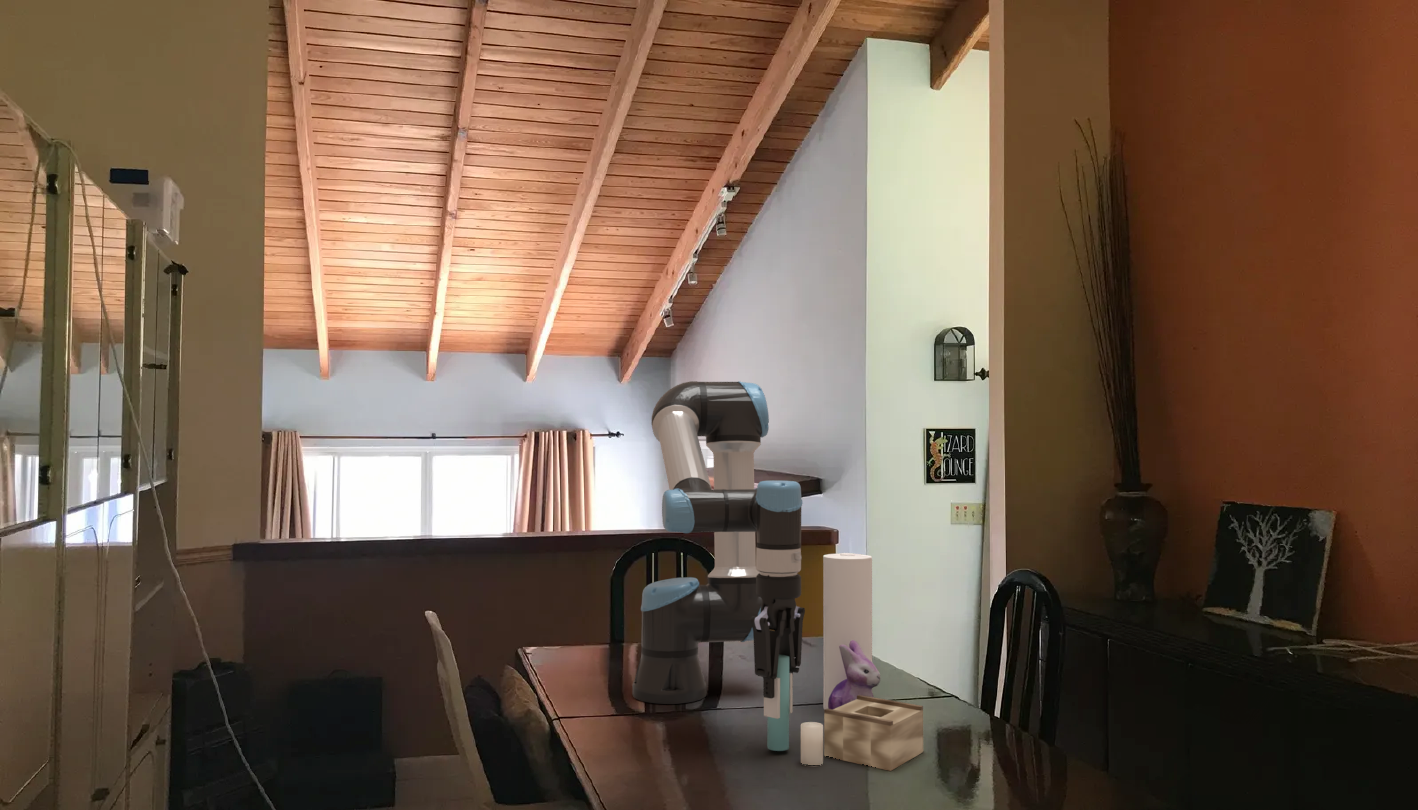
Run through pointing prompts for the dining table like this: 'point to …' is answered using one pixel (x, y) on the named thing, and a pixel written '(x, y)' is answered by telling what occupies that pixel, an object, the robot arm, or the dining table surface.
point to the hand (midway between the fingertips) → (778, 713)
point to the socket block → (874, 732)
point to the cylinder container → (845, 612)
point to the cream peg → (812, 743)
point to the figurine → (854, 676)
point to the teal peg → (780, 726)
